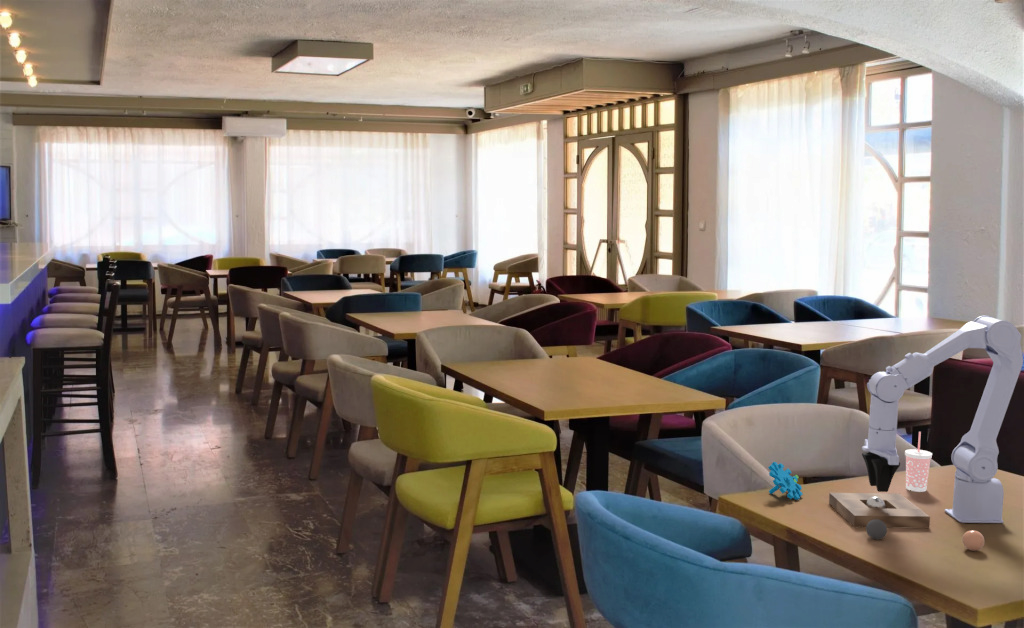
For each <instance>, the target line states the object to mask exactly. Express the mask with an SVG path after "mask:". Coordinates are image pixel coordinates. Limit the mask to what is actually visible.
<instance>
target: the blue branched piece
mask: <svg viewBox="0 0 1024 628" xmlns="http://www.w3.org/2000/svg"><path fill="white" fill-rule="evenodd" d="M784 468H785V465H784V464H783V463H781V462H779V464H778V462H776V461H773V462H772V463H771V464H770V465H769V466H768V470H769V471H768V474H769V477H771V478H773V480H772V483H773V485H774V486H773V487H772V488H771V489H769V490H768V492H769V494H770V495H773V494H774V493H775V492H777V491H778V490H779V491H780V493H781V494H785V493H786V492H787V494H786V496H787V498H788V499H789V500H792V499H794V500H795V501H799V500H800V499H801V497H802V496H803V495H804V494H803V492H802V489H803V488H802V485H801V484H799V483H798V482H799V481H798V479H799V475H797V474H795V475H793V476H792V475H791V474H792V471H791V470H790V468H786V469H785V470H784Z"/></svg>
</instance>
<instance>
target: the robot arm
mask: <svg viewBox="0 0 1024 628" xmlns="http://www.w3.org/2000/svg"><path fill="white" fill-rule="evenodd" d="M1021 340H1022V334H1021V332H1020V331H1019V330H1018V328H1017V327H1016V326H1015V324H1013V323H1012V322H1011V321H1008V320H1004V319H999V318H996V317H995V318H994V317H993V316H990V315H980V316H978V317H976V318H975V319H974V320H971V321H968V322H966V323H965V324H964V325H963V326H961V327H960V328H959V329H958V330H957V331H955V332H954V333H951V334H950V335H949V336H948V337H946V338H945V339H943V340H942V341H940V342H939V343H937V344H936V345H934V346H933V347H932V348H930V349H929V350H926V352H925V353H921V352H913V353H911V352H908V353H907V354H905V355H904V358H903V359H902V360H900V361H899V362H897V363H895V364H893V365H892V366H890V365H888V366H886V367H885V370H886V371H877V372H875V373H874V374H873V375H872V376H870V379H869V380H868V382H867V383H866V387H867V390H868V392H869V394H870V405H869V415H868V417H869V418H868V419H869V420H868V432H867V433H868V434H867V435H868V436H867V438H865V439H864V444H863V446H861V450H862V451H864V452H862V453H861V456H862V458H863V460H864V463H865V466H866V470H867V475H868V476H867V477H868V482H869V486H870V487H876V491H877V492H878V493H884V492H885V493H887V492H889V490H890V486H891V483H892V479H893V477H894V475H895V473H896V472H897V471H898V469H899V468H900V466H901V462H900V456H899V455H898V451H897V448H896V447H897V445H896V443H897V430H898V418H899V416H898V414H899V400H900V399H901V398H902V397H903V395H904V394H905V391H906V390H908V389H910V388H911V387H913V386H915V385H916V384H918V383H920V382H921V381H923V380H925V379H926V378H928V377H930V376H931V375H932V374H933V371H934V367H935V366H937V365H940V363H943V362H945V361H946V360H948V359H950V358H953V357H954V356H955V355H957V354H959V353H962V352H963V351H965V350H967V349H984V350H985V351H986V353H987V355H988V357H990V360H991V361H992V367H991V370H990V372H989V375H988V378H987V381H986V385H985V387H984V389H983V393H982V396H981V399H980V401H979V404H978V407H977V410H976V412H975V415H974V418H973V421H972V424H971V427H970V430H968V432H967V433H964V435H962V437H961V438H960V442H959V443H958V444H957V446H956V447H954V449H953V450H952V451H951V452H952V453H951V455H950V457H951V463H952V465H953V466H954V467H955V468H956V469H955V472H954V484H953V496H952V499H953V500H952V508H945V509H944V512H945V513H946V514H948V515H949V516H951V517H952V518H953V519H955V520H957V521H958V522H959V523H963V524H965V523H966V524H967V523H971V524H972V523H973V524H977V523H978V524H1003V523H1004V520H1003V508H1004V498H1005V497H1004V495H1005V492H1004V486H1003V484H1002V482H1001V481H1000V479H998V478H996V477H995V476H996V474H997V473H998V469H999V467H998V466H999V465H998V455H999V453H1000V451H999V446H998V443H997V438H998V435H999V432H1000V429H1001V427H1002V424H1003V421H1004V418H1005V415H1006V412H1007V410H1008V407H1009V405H1010V401H1011V399H1012V396H1013V393H1014V390H1015V387H1016V384H1017V382H1018V378H1019V376H1020V373H1021V371H1022V367H1023V366H1024V365H1023V364H1024V357H1023V351H1022V345H1021Z"/></svg>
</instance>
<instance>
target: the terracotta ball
mask: <svg viewBox="0 0 1024 628" xmlns="http://www.w3.org/2000/svg"><path fill="white" fill-rule="evenodd" d="M961 540H962V544H963V546H964V548H966V549H967V550H969V551H973V552H976V551H980V550H982V548H983V547H984V545H985V537H984V536H983V534H982V533H981V532H980V531H979V530H975V529H972V530H967V531H966V532H965V533H964V534H963V535H962V539H961Z"/></svg>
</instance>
